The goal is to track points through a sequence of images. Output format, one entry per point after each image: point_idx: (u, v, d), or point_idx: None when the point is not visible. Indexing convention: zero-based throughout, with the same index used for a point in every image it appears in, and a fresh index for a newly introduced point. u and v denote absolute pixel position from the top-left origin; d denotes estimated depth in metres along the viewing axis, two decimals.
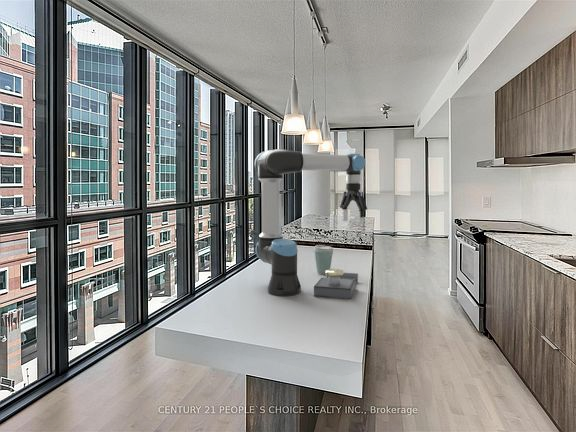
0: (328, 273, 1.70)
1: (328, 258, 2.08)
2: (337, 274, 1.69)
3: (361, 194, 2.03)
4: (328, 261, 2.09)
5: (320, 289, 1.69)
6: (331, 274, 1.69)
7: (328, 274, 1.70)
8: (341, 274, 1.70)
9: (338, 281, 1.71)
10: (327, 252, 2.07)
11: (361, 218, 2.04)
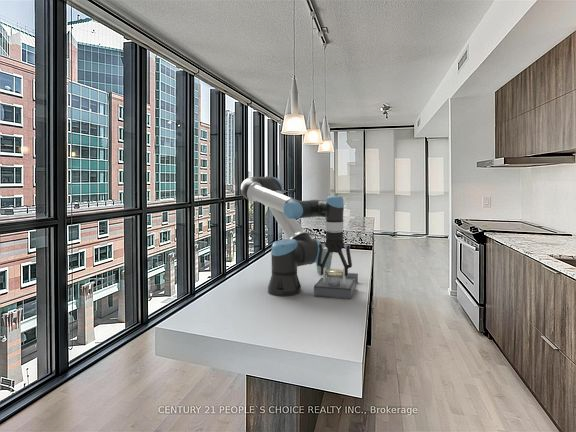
0: (328, 273, 1.70)
1: (328, 258, 2.08)
2: (337, 274, 1.69)
3: (349, 248, 1.70)
4: (328, 261, 2.09)
5: (320, 289, 1.69)
6: (331, 274, 1.69)
7: (328, 274, 1.70)
8: (341, 274, 1.70)
9: (338, 281, 1.71)
10: None
11: (344, 277, 1.71)
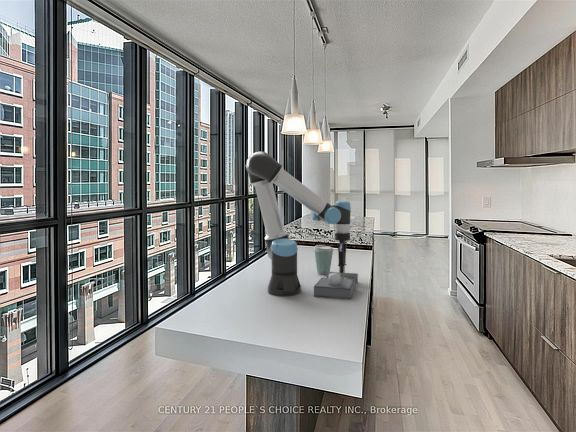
0: None
1: (328, 258, 2.08)
2: None
3: (340, 250, 1.90)
4: (328, 261, 2.09)
5: (320, 289, 1.69)
6: None
7: None
8: None
9: (338, 281, 1.71)
10: (327, 252, 2.07)
11: None
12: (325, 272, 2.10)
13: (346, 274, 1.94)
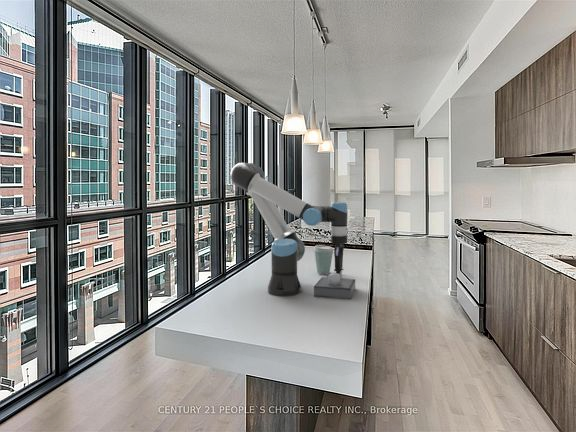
0: None
1: (328, 258, 2.08)
2: None
3: (337, 254, 1.78)
4: (328, 261, 2.09)
5: (320, 289, 1.69)
6: None
7: None
8: None
9: (338, 281, 1.71)
10: (327, 252, 2.07)
11: None
12: (325, 272, 2.10)
13: None
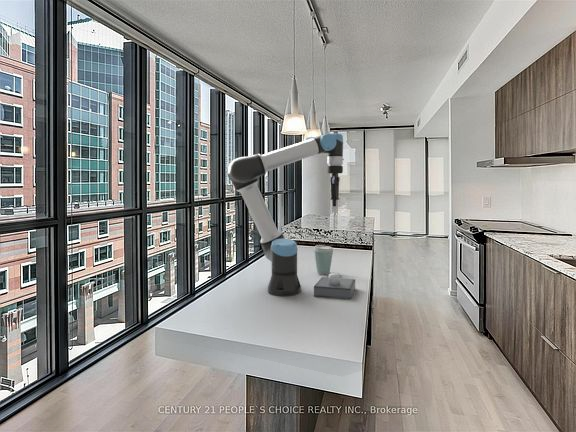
0: None
1: (328, 258, 2.08)
2: None
3: (333, 182, 1.89)
4: (328, 261, 2.09)
5: (320, 289, 1.69)
6: None
7: None
8: None
9: (338, 281, 1.71)
10: (327, 252, 2.07)
11: (334, 207, 1.95)
12: (325, 272, 2.10)
13: None
